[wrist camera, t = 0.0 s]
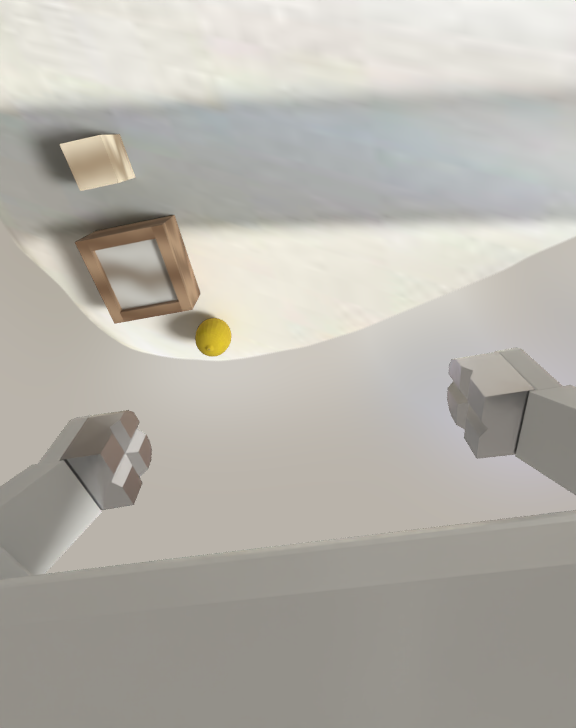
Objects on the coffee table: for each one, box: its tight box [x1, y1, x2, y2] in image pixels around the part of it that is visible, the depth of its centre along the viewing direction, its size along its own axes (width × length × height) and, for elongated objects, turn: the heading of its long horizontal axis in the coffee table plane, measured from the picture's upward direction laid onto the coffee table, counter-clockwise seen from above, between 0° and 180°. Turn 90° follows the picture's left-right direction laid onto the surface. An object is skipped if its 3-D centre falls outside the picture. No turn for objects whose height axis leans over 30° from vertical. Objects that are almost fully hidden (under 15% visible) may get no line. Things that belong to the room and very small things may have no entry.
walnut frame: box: [75, 215, 200, 323], centre depth 53 cm, size 12×12×6 cm
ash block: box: [60, 134, 135, 191], centre depth 46 cm, size 5×5×6 cm
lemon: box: [195, 318, 231, 356], centre depth 58 cm, size 6×6×8 cm
